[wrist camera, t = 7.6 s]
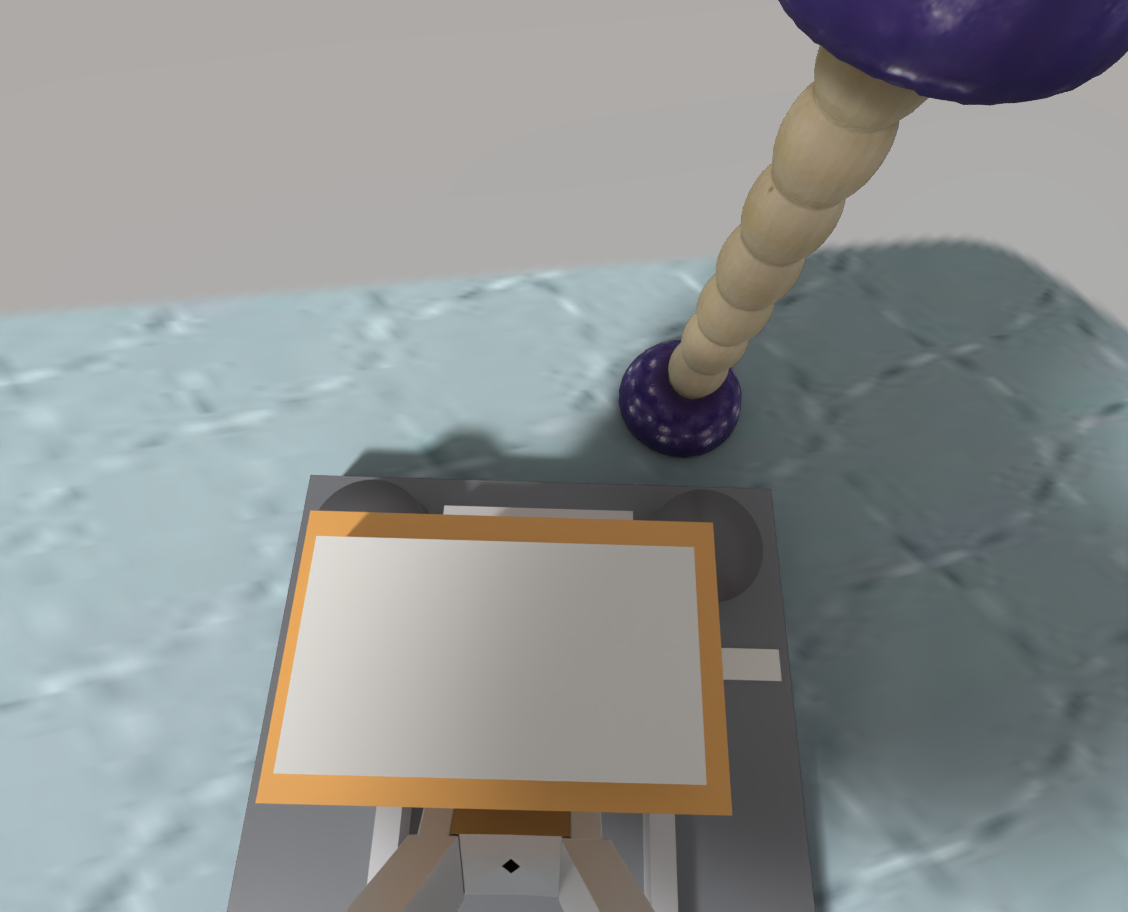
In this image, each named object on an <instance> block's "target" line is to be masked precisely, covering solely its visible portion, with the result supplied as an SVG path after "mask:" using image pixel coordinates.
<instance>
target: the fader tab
mask: <svg viewBox="0 0 1128 912" xmlns="http://www.w3.org/2000/svg"><path fill="white" fill-rule="evenodd" d="M255 803H267V804H305V805H344V806H382V807H420V808H459V809H497V810H536V811H574V812H612V813H651V814H689V815H728V816H732V802H731V787H730V772H729V757H728V742H727V727H726V712H725V696H724V681H723V666H722V651H721V636H720V621H719V606H718V591H717V576H716V560H715V545H714V530H713V523H712V522H678V521H645V520H612V519H578V518H545V517H512V516H478V515H445V514H412V513H378V512H345V511H311V510H310V515H309V520H308V525H307V531H306V536H305V541H304V547H303V552H302V557H301V563H300V568H299V573H298V579H297V584H296V589H295V595H294V600H293V605H292V611H291V616H290V621H289V627H288V632H287V637H286V643H285V648H284V653H283V659H282V664H281V669H280V675H279V680H278V685H277V691H276V696H275V701H274V707H273V712H272V717H271V722H270V728H269V733H268V738H267V744H266V749H265V754H264V760H263V765H262V770H261V776H260V781H259V786H258V792H257V797H256V802H255Z"/></svg>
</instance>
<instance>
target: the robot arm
mask: <svg viewBox="0 0 1128 912" xmlns="http://www.w3.org/2000/svg"><path fill="white" fill-rule="evenodd" d="M464 895H528V896H546V897H559V902H560V904H561V907H562V909H563V911H564V912H655V911H654V909H653V908H652V906H651V904H650V903H649V901H648V900H647V898H646V896H645V895H644V893H643V891H642V890H641V888H640V887H639V885H638V883H637V882H636V880H635V878H634V877H633V875H632V873H631V872H630V870H629V869H628V867H627V865H626V864H625V862H624V860H623V859H622V857H621V856H620V854H619V852H618V851H617V849H616V847H615V846H614V844H613V843H612V841H611V840H610V839H602V821H601V812H574V811H536V810H497V809H459V808H424V809H423V813H422V817H421V821H420V826H419V830H418V834H415V835H408V837H407V838H406V839H405V840H404V841H403V843H402V844H401V845H400V846H399V847H398V849H397V850H396V851H395V852H394V853H393V855H392V856H391V857H390V858H389V859H388V861H387V862H386V863H385V864H384V865H383V866H382V868H381V869H380V870H379V871H378V872H377V874H376V875H375V876H374V877H373V878H372V880H371V881H370V882H369V883H368V884H367V886H366V887H365V888H364V889H363V890H362V892H361V893H360V894H359V895H358V896H357V897H356V899H355V900H354V901H353V902H352V903H351V905H350V906H349V907H348V908H347V909H346V911H345V912H457V910H458V908H459V907H460V905H461V903H462V902H463V900H464Z"/></svg>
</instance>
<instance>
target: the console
mask: <svg viewBox="0 0 1128 912" xmlns="http://www.w3.org/2000/svg"><path fill="white" fill-rule="evenodd" d="M310 510H311V511H345V512H378V513H412V514H445V515H478V516H512V517H545V518H578V519H612V520H645V521H678V522H712V523H713V530H714V545H715V560H716V576H717V591H718V606H719V621H720V636H721V651H722V666H723V681H724V696H725V712H726V727H727V742H728V757H729V772H730V787H731V802H732V816H728V815H689V814H651V813H612V812H601V821H602V839H610V840H611V841H612V843H613V844H614V846H615V847H616V849H617V851H618V852H619V854H620V856H621V857H622V859H623V860H624V862H625V864H626V865H627V867H628V869H629V870H630V872H631V873H632V875H633V877H634V878H635V880H636V882H637V883H638V885H639V887H640V888H641V890H642V891H643V893H644V895H645V896H646V898H647V900H648V901H649V903H650V904H651V906H652V908H653V909H654V911H655V912H815V906H814V897H813V887H812V878H811V868H810V858H809V849H808V839H807V830H806V820H805V811H804V801H803V792H802V782H801V772H800V763H799V753H798V744H797V734H796V725H795V715H794V705H793V696H792V686H791V677H790V667H789V658H788V648H787V639H786V629H785V619H784V610H783V600H782V591H781V581H780V572H779V562H778V553H777V543H776V533H775V524H774V514H773V505H772V495H771V489H754V488H721V487H688V486H655V485H622V484H589V483H556V482H524V481H491V480H458V479H425V478H392V477H359V476H327V475H310V480H309V485H308V490H307V496H306V501H305V506H304V511H303V517H302V522H301V527H300V532H299V537H298V543H297V548H296V553H295V558H294V563H293V569H292V574H291V579H290V584H289V590H288V595H287V600H286V605H285V610H284V616H283V621H282V626H281V631H280V636H279V642H278V647H277V652H276V657H275V663H274V668H273V673H272V678H271V683H270V689H269V694H268V699H267V704H266V709H265V715H264V720H263V725H262V730H261V735H260V741H259V746H258V751H257V756H256V762H255V767H254V772H253V777H252V782H251V788H250V793H249V798H248V803H247V808H246V814H245V819H244V824H243V829H242V835H241V840H240V845H239V850H238V855H237V861H236V866H235V871H234V876H233V881H232V887H231V892H230V897H229V902H228V908H227V912H345V911H346V909H347V908H348V907H349V906H350V905H351V903H352V902H353V901H354V900H355V899H356V897H357V896H358V895H359V894H360V893H361V892H362V890H363V889H364V888H365V887H366V886H367V884H368V883H369V882H370V881H371V880H372V878H373V877H374V876H375V875H376V874H377V872H378V871H379V870H380V869H381V868H382V866H383V865H384V864H385V863H386V862H387V861H388V859H389V858H390V857H391V856H392V855H393V853H394V852H395V851H396V850H397V849H398V847H399V846H400V845H401V844H402V843H403V841H404V840H405V839H406V838H407V837H408V835H415V834H418V830H419V826H420V821H421V817H422V813H423V809H424V808H420V807H382V806H344V805H305V804H267V803H255V802H256V797H257V792H258V786H259V781H260V776H261V770H262V765H263V760H264V754H265V749H266V744H267V738H268V733H269V728H270V722H271V717H272V712H273V707H274V701H275V696H276V691H277V685H278V680H279V675H280V669H281V664H282V659H283V653H284V648H285V643H286V637H287V632H288V627H289V621H290V616H291V611H292V605H293V600H294V595H295V589H296V584H297V579H298V573H299V568H300V563H301V557H302V552H303V547H304V541H305V536H306V531H307V525H308V520H309V515H310ZM457 912H564V911H563V909H562V907H561V904H560V902H559V897H546V896H528V895H464V900H463V902H462V903H461V905H460V907H459V908H458V910H457Z"/></svg>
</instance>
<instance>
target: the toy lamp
mask: <svg viewBox="0 0 1128 912" xmlns="http://www.w3.org/2000/svg"><path fill="white" fill-rule="evenodd" d="M778 1H779V2H780V4H781V5H782V7H783V9H784V11H785V12H786V13H787V14H788V16H789V17H790V18H791V19H793V21H794V22H795V24H796V25H797V27H798V28H799V29H800V30H802V31H803V32H804V33H805V34H806V35H807V36H808V37H809V38H810V39H811V40H812V41H813V42H814V43H816V44H819V45H820V47H819V50H818V54H817V57H816V63H815V69H814V74H815V75H814V82H813V83H811V84H810V85H809V86H808V87H807V88H806V89H805V90H804V91H803V92H802V93H801V94H800V95H799V96H798V97H797V99H796V100H795V102H794V103H793V104H792V106H791V108H790V109H789V111H788V112H787V114H786V116H785V117H784V119H783V121H782V123H781V125H780V128H779V131H778V134H777V137H776V140H775V144H774V149H773V158H772V164H770V165H769V166H768V167H767V168H766V169H765V170H764V171H763V172H762V173H761V174H760V176H759V177H758V178H757V180H756V181H755V183H754V184H753V186H752V188H751V190H750V192H749V193H748V196H747V199H746V201H745V204H744V206H743V210H742V215H741V224H740V225H739V226H738V227H737V228H736V229H735V230H734V231H733V232H732V233H731V235H730V236H729V237H728V238H727V240H726V242H725V243H724V245H723V247H722V249H721V251H720V253H719V256H718V260H717V264H716V274H715V275H713V276H712V277H711V278H710V279H709V280H708V282H707V283H706V285H705V286H704V288H703V290H702V291H701V294H700V297H699V299H698V303H697V312H696V313H695V314H694V315H693V316H692V317H691V318H690V319H689V321H688V322H687V324H686V326H685V328H684V331H683V334H682V338H681V340H673V341H668V342H664V343H660V344H657V345H655V346H653V347H651V348H649V349H647V350H646V351H644V352H643V353H642V354H640V355H639V356H638V357H637V358H636V359H635V360H634V361H633V362H632V363H631V365H630V366H629V367H628V369H627V370H626V372H625V374H624V376H623V378H622V382H621V385H620V389H619V394H620V395H619V405H620V410H621V414H622V417H623V419H624V421H625V423H626V425H627V426H628V428H629V430H630V431H631V432H632V433H633V434H634V435H635V436H636V437H637V438H638V439H639V440H641V441H642V442H643V443H645V444H646V445H648V446H649V447H650V448H652V449H654V450H656V451H658V452H661V453H664V454H668V455H671V456H676V457H690V456H697V455H702V454H704V453H706V452H709V451H711V450H713V449H715V448H716V447H718V446H719V445H721V444H722V443H723V442H724V441H725V440H726V439H727V438H728V437H729V436H730V434H731V433H732V431H733V429H734V427H735V425H736V423H737V421H738V417H739V413H740V410H741V389H740V385H739V381H738V379H737V377H736V374H735V372H734V370H733V368H732V366H734V365H735V364H736V363H737V362H738V361H739V360H740V358H741V357H742V356H743V354H744V353H745V351H746V348H747V346H748V343H749V340H750V339H752V338H753V337H755V336H756V335H757V334H758V333H759V332H760V331H761V330H762V329H763V328H764V326H765V325H766V324H767V322H768V320H769V318H770V316H771V315H772V311H773V308H774V303H775V302H777V301H778V300H780V299H781V298H782V297H784V296H785V295H786V294H787V293H788V292H789V291H790V289H791V288H792V287H793V285H794V284H795V283H796V281H797V280H798V278H799V276H800V274H801V272H802V269H803V266H804V263H805V259H806V257H807V256H809V255H810V254H811V253H813V252H814V251H815V250H817V249H818V248H819V247H820V246H821V245H822V244H823V243H824V242H825V240H826V239H827V238H828V237H829V235H830V234H831V233H832V231H833V230H834V228H835V226H836V225H837V223H838V221H839V219H840V216H841V214H842V212H843V208H844V204H845V199H846V198H847V197H849V196H850V195H852V194H854V193H855V192H856V191H857V190H859V189H860V188H861V187H862V186H864V185H865V183H867V182H868V180H869V179H870V178H871V177H872V176H873V175H874V173H875V172H876V171H877V170H878V168H879V167H880V166H881V164H882V163H883V161H884V159H885V158H886V156H887V154H888V152H889V151H890V149H891V147H892V145H893V142H894V139H895V136H896V133H897V130H898V126H899V120H901V119H902V118H904V117H906V116H907V115H909V114H910V113H912V112H913V111H914V110H915V109H916V108H917V107H919V106H920V105H921V104H922V103H923V102H924V101H925V100H927V99H928V98H934V99H940V100H947V101H954V102H957V103H960V104H963V105H995V104H1003V103H1018V102H1026V101H1032V100H1038V99H1043V98H1048V97H1051V96H1053V95H1056V94H1060V93H1063V92H1068V91H1071V90H1074V89H1075V88H1077V87H1079V86H1080V85H1082V84H1083V83H1085V82H1087V81H1089V80H1090V79H1092V78H1094V77H1096V76H1099V75H1100V74H1102V73H1103V72H1105V71H1106V70H1107V69H1108V68H1110V67H1111V66H1112V65H1113V64H1114V63H1116V62H1117V61H1118V60H1119V59H1120V58H1121V57H1122V56H1123V55H1124V54H1125V53H1126V52H1127V51H1128V0H778Z"/></svg>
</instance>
